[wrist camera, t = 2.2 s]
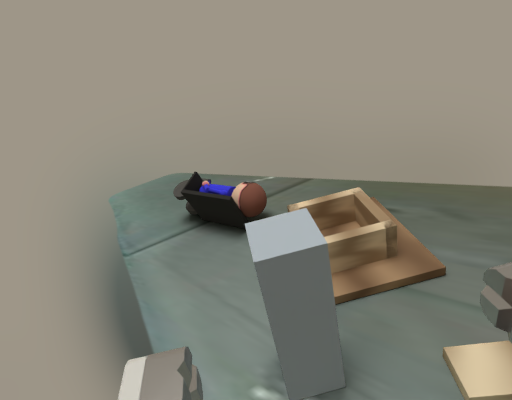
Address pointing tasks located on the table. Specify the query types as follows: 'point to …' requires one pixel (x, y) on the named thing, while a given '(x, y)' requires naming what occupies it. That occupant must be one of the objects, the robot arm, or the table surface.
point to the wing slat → (482, 370)
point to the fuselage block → (299, 301)
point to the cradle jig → (368, 246)
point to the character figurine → (221, 200)
